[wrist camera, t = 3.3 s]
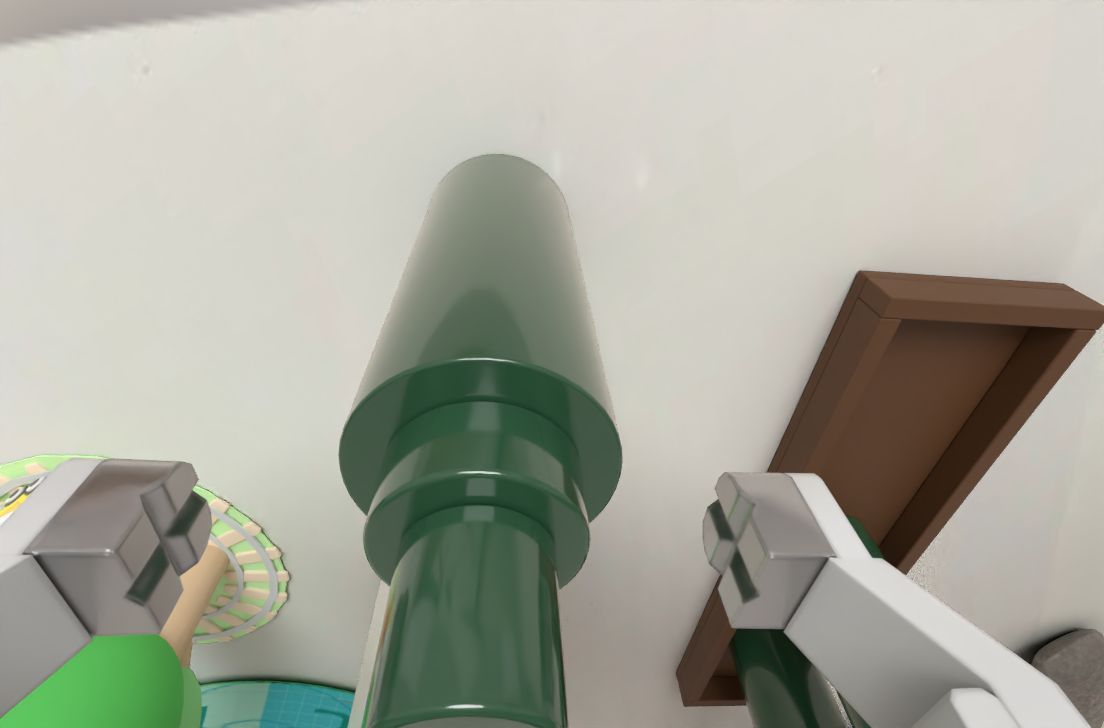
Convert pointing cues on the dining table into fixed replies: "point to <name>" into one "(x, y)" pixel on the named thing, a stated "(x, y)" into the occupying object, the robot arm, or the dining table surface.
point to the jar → (369, 658)
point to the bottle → (481, 455)
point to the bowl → (274, 705)
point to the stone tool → (1077, 671)
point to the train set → (157, 659)
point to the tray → (911, 415)
